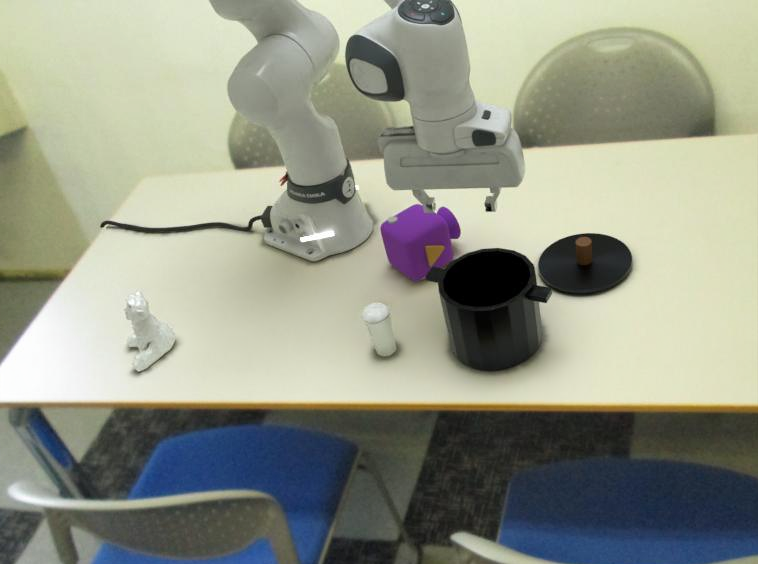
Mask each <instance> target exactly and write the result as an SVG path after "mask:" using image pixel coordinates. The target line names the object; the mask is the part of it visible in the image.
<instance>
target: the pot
mask: <svg viewBox="0 0 758 564" xmlns="http://www.w3.org/2000/svg"><path fill="white" fill-rule="evenodd" d="M425 280H426V282H431V283H435V284H436V283H437V287H438V288H437V289H438V294H439V299H440V303H441V308H442V313H443V317H444V322H445V327H446V330H447V336H448V339H449V345H450V349H451V351H452V353H453V355H454V357H455V358H456V359H457V361H459V362H460V363H461V364H462V365H464V366H466V367H468V368H470V369H473V370H476V371H481V372H499V371H501V372H502V371H505V370H510V369H513V368H515V367H518V366H520V365H522V364H524V363H525V362H527V361H528V360H530V359H531V357H533V356H534V355H535V354H536V353H537V351H538V349H539V348H540V346H541V344H542V339H543V326H542V318H541V317H542V316H541V308H540V303H543V304H547V303H548V302H549V300H550V298H551V297H552V295H553V287H551V286H550V287H549V286H544V285H538V280H537V272H536V267H535V265H534V263H533V262H532V261H531V260H530V259H529V257H527V256H526V255H525V254H523V253H521V252H518V251H516V250H513V249H508V248H502V247H491V248H488V247H487V248H480V249H476V250H473V251H469V252H466V253H464V254H462V255H460V256H459V257H457V258H455V259H452V260H451V261H450V262H449V263H448V264H447V266H445V268H443V267H441V268H438V267H432V268H431V269H430V271H429V272H428V273H427V275H426V277H425Z"/></svg>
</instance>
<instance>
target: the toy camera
mask: <svg viewBox="0 0 758 564" xmlns="http://www.w3.org/2000/svg"><path fill="white" fill-rule="evenodd" d="M379 228H380V234H381V239H382V243H383V246H384V250H385V254H386V257H387V260H388V263H389V264H390V265H391V266H392V267H393V268H395V269H396V270H397V271H399V272H400V273H402V274H403V275H404V276H406V277H407V278H409V279H411V280H412V281H414V282H420V281H422V280H423V279H426V275H427V273H428V272H429V271H430V269H431V268H432V267H438V268H443V267H444V266H445V267H446V265H449V264H450V263H451V262H452V261H453V260H454V251H453V245H452V244H453V243H452V240H458V239H460V237H461V233H462V231H461V226H460V223H459V221H458V219H457V217H456V215H455V214H454V213H453V211H451V210H450V208H448V207H445V206H440V207H439V208H438V209H437V212H436V211H435V212H434V213H424V209H423V204H421V203H415V204H413V205H410V206H409V207H407V208H405V209H403V210H402V211H400V212H398V213H397V214H395V215H392V216H389V217H388V218H387V219H386V220H385V221H384V222H382V223H381V224H380V227H379Z"/></svg>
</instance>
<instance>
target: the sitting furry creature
mask: <svg viewBox="0 0 758 564" xmlns="http://www.w3.org/2000/svg"><path fill="white" fill-rule="evenodd" d="M125 302H126V307H124V309H123V311H124V314H125V319H126V320H127V321H130V322H131V325H132V326H131V328H132V331H133V333H132V334H130V335H128V336H127V339H126V343H127V346H128V347H129V348H138V353H137V354H136V355H135V356H134V359H133V360H132V361H131V365H132V368H133V369H134V370H135V371H137V372H138V373H140V372H142V371H145V370H146V369H149V367H150V366H151V365H153V364H154V363H155V362H157V361H158V360H159V359H160V358H162V357H163V356H164V355H165V354H167V353H168V352H170V351H171V350H172V348H173V347H174V344H175V342H176V340H175V339H176V333H175V331H174V330H173V328H172V327H171V325H169V323H165V322H162V321H161V320H158V319H157V317H156V316H155V314H153V313H151V312H150V305H149V301H148V300H147V299H146V298H145V295H144V293H143V291H141V290H140V289H138V290H137V291H136V292H135V294H130V295H128V296H127V298H126V299H125Z"/></svg>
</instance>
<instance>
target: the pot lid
mask: <svg viewBox="0 0 758 564" xmlns="http://www.w3.org/2000/svg"><path fill="white" fill-rule="evenodd" d="M632 265H633V255H632V252H631V250H630V248H629V246H627V244H626V243H624V242H623V241H621V240H620V239H618V238H616V237H614V236H611V235H607V234H603V233H597V232H596V233H594V232H586V233H585V232H584V233H577V234H572V235H568V236H565V237H563V238H560V239H558V240H556V241H554V242H552V243H551V244H550V245H549V246H547V247H546V248H545V249H544V251H543V252H541V254H540V256H539V259H538V263H537V267H538V268H537V269H538V273H539V275H540V277H541V279H542V280H543V282H545V283H546V284H547V285H548V286H550V287H551V288H553V289H556V290H559V291H561V292H564V293H571V294H588V293H589V294H590V293H596V292H600V291H604V290H607V289H609V288H612V287H613V286H616V285H617V284H619V283H620V282H622V280H623V279H625V278H626V277H627V275H628V274H629V272H630V271H631V269H632Z"/></svg>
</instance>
